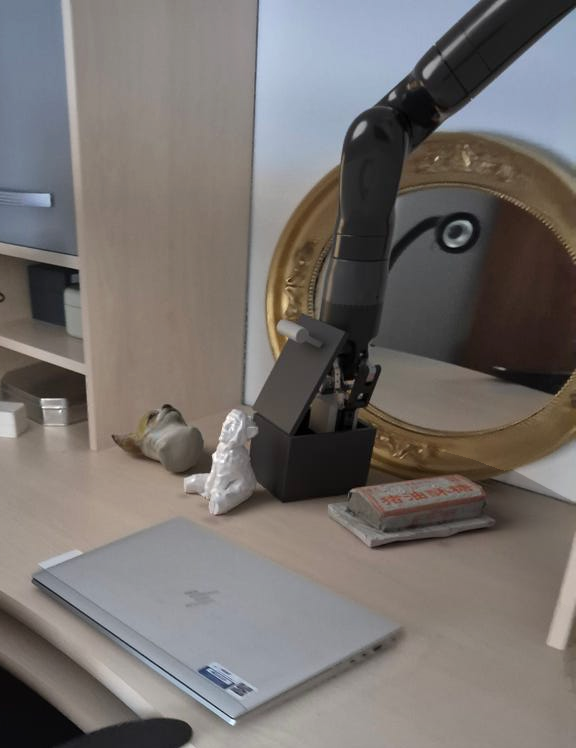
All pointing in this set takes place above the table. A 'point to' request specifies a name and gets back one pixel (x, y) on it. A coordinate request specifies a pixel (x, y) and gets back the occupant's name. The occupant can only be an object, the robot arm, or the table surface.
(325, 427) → the off-white matte cube
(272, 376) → the box lid
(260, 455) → the open hinged box
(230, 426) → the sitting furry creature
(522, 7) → the robot arm
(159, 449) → the ceramic sculpture
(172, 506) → the table surface
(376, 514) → the packaged product
